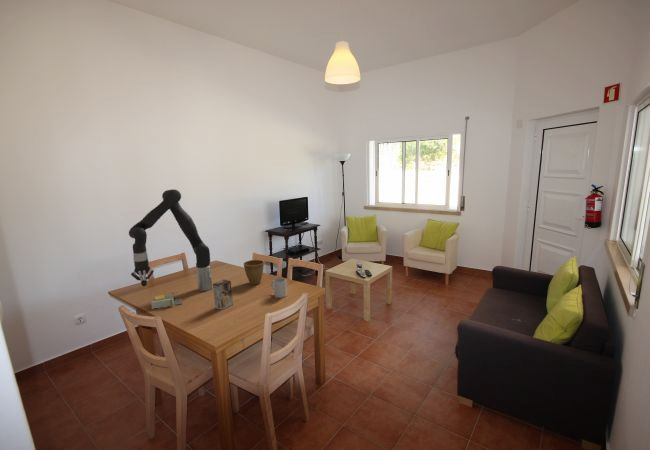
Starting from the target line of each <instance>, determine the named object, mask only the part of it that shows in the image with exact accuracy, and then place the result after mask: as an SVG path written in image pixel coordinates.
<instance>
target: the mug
mask: <svg viewBox="0 0 650 450" xmlns="http://www.w3.org/2000/svg"><path fill="white" fill-rule="evenodd" d="M271 288H272V290H273V295H274V296H273V297H275V298H279V299H280V298H281V299H282V298H285V297H287V295H288V291H287V279H286V278H284V277H277V278H274V279H272V281H271Z"/></svg>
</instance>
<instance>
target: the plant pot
mask: <svg viewBox="0 0 650 450" xmlns="http://www.w3.org/2000/svg"><path fill="white" fill-rule="evenodd" d="M264 266H265V261H264V260H262V259H251V260H247V261H245V262H243V269H244V272H245V276H246V278H247V279H248V281H249V284H250V285H253V286H254V285H259V284H261V282H262V277H263V273H264V268H265V267H264Z"/></svg>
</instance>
